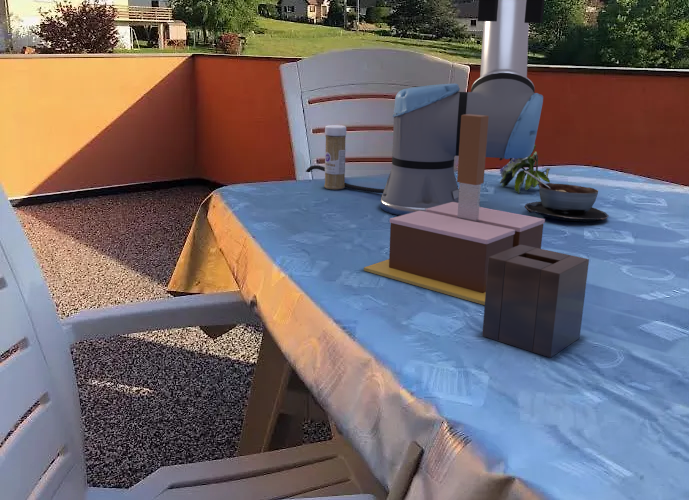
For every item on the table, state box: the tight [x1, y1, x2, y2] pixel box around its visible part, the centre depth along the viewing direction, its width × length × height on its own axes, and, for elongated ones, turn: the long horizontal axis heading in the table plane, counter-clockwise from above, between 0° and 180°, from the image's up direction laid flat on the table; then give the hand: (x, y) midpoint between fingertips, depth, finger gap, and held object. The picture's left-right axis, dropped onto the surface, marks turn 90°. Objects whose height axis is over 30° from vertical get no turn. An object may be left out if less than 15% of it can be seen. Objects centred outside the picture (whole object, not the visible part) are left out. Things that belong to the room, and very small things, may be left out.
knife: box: [456, 114, 489, 222], centre depth 96 cm, size 3×2×21 cm, turn 48°
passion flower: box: [498, 144, 551, 195], centre depth 156 cm, size 11×11×12 cm
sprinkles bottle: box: [323, 124, 347, 191], centre depth 152 cm, size 5×5×14 cm
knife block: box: [481, 245, 590, 359], centre depth 76 cm, size 8×7×9 cm
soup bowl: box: [524, 171, 609, 222], centre depth 131 cm, size 15×16×7 cm
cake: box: [363, 202, 546, 306], centre depth 98 cm, size 20×20×8 cm
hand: (511, 22), depth 106 cm, fingers open, 13 cm apart
